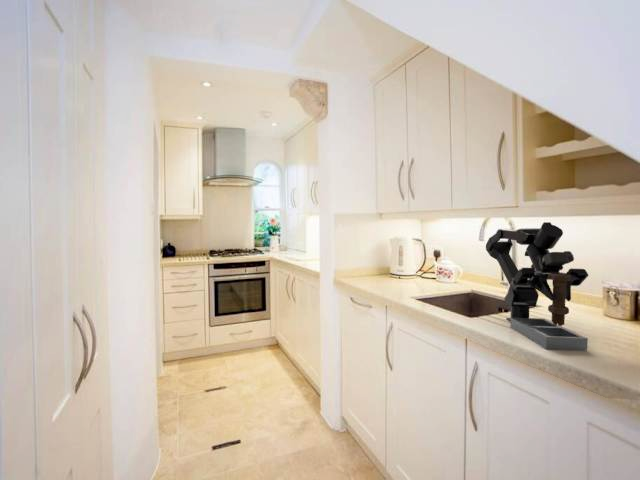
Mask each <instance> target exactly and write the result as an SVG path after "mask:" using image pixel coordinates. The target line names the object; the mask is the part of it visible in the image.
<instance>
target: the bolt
mask: <svg viewBox="0 0 640 480" xmlns="http://www.w3.org/2000/svg"><path fill="white" fill-rule="evenodd" d="M548 279H551V280H550V281H552V282H551V283H552V293H553V296H554V300H553V301H552V303H551V304H549V305H548V306H547V311H549V313H551V320H550V321H551V322H553V324H554V325H559V326H562V327H563V326H564V325H565V318H566V315H568V314H569V312H570V309H569V307H568V306H566V301H567V300H566V297H565V295H566V286H567V281H572V276H571V275H569V274H561V273H550V274H548Z"/></svg>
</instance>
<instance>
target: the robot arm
mask: <svg viewBox="0 0 640 480" xmlns="http://www.w3.org/2000/svg"><path fill="white" fill-rule="evenodd" d="M563 234H564V231H563V229H561V228H560V227H558V226H557V225H555V224H552V223H551V222H546V221H545V222H543V223H542V224H541V226H540V228H539V227H536V228H535V227H533V228H529V227H526V228H523V227H522V228H517V229H513V228H499V229H497V230H496V232H495V234H493V235H491V236H490V237H489V238H488V240H487V242H486V244H485V251H486V252H487V253H488V255H489V256H490V257H491V258H493V259H495V260H496V261H497V263H498V264H499V266H500V268H501V271H502V273H503V274H504V277H505V278H506V281H507V282H508V285H509V286H508V289H507V294H506V295H505V296H504V304H506V305H507V306H509V307H510V317H506V320H507V321H508V322H510V323H511V318H530V308H536V307H537V303H538V300H539V292H540V293H541V294H542V295H544V296H545V297H546V298H547V299H548V300H550V301H552V302H553V300H554V296H553V290H552V288H551V287H550V285H549V283H548V281H552V280H551V279H548V274H550V273H561V274H569V275H571V276H572V281H567V286H566V295H565V297H566V301H568V302H570V301H571V300H572V289H571V288H572V287H579V286H580V285H581V284H582V283H583V282H584V281H585V280H586V279H587V278H588V277H589V273H588V272H587V270H586V269H585V268H569V269H568V271H567V272H560V271H562V270H563V269H564V266H565V265H566V264H570V263H571V262H574V259H575V257H574V255H573V253H572V252H571V251H569V250H567V251H551V252H550V250H551V249H554V247H555V246H556V245H557V244H558V242H559V240H560V239H561V237H563ZM501 239H504V240H501ZM513 241H515V242H516V243H517V244H519V245H520V246H521V245H522V246H527V247H526V250H525V252H524V256H525V257H529V259H530V262H531V263H532V264H531V266H530V267H520V268H519V269H518V267H517V265H516V263H515V262H514V261H513V258H512V256H511V255H510V252H511V249H512V247H513V245H514V244H513Z"/></svg>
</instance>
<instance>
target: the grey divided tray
mask: <svg viewBox="0 0 640 480" xmlns="http://www.w3.org/2000/svg"><path fill="white" fill-rule="evenodd" d="M510 318H511V317H510ZM510 328H511V329H512V330H514V331H515V332H517V333H518V334H520V335H522V336H523V337H525V338H527V339H528V340H530V341H532V342H534V343H535V344H536V345H538V346H540V347H541V348H543V349H545V350H554V351H558V350H559V351H578V352H579V351H582V352H587V351H588V342H589V339H588V337H587V336H586V337H585V336H583V335H581V334H579V333H576V332H574V331H573V330H570V329H568V328H566V327H563V325H562V326H559V325H558V324H557V325H554V324H553V322H552V321H551V320H549V319H547V318H545V317H544V318H543V317H542V318H541V317H540V318H538V317H529V318H511V322H510Z"/></svg>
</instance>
